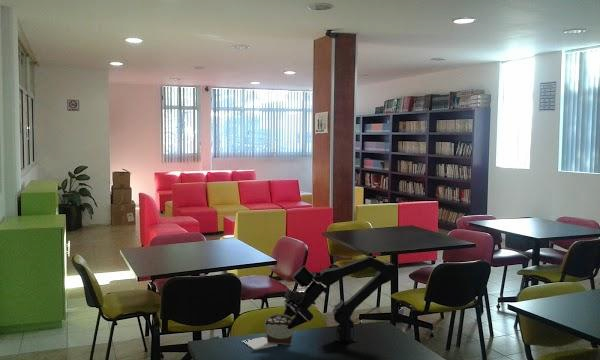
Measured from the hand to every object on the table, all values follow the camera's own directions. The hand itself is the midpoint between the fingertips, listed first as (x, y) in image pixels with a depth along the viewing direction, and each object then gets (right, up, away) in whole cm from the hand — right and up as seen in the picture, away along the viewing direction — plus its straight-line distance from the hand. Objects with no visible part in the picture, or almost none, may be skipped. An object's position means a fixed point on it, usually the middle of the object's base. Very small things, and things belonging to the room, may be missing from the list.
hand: (284, 325), depth 210 cm
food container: (-2, -7, +4) cm, 8 cm away
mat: (-10, -8, +2) cm, 13 cm away
